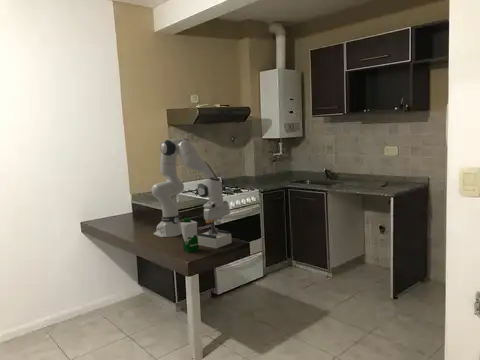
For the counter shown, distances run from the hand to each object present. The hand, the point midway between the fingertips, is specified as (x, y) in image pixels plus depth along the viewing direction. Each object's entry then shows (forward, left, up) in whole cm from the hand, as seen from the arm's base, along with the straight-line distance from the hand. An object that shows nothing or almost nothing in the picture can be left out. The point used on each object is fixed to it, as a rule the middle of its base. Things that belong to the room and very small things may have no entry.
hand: (218, 224), depth 254 cm
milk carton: (-8, -18, -14) cm, 23 cm away
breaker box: (-5, 0, -13) cm, 14 cm away
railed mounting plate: (-5, 0, -7) cm, 9 cm away
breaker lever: (-5, 0, -6) cm, 8 cm away
